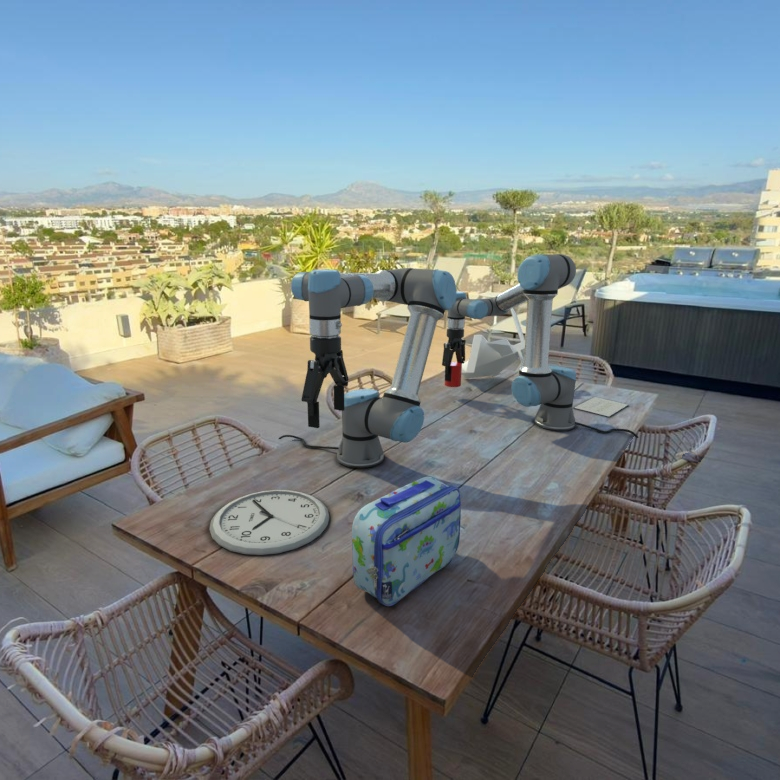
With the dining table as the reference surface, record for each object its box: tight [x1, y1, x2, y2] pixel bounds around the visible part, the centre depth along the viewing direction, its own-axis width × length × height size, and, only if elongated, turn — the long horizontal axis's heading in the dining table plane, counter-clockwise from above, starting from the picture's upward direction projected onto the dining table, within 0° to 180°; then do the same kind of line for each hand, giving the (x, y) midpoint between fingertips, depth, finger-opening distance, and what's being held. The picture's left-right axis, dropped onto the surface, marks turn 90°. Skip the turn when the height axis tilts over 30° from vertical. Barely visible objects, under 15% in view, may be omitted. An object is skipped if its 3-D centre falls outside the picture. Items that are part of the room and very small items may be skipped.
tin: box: [444, 361, 462, 388], centre depth 232 cm, size 7×7×10 cm
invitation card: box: [573, 396, 629, 418], centre depth 226 cm, size 21×1×15 cm
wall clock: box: [209, 489, 330, 556], centre depth 135 cm, size 30×2×30 cm
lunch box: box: [351, 476, 462, 607], centre depth 111 cm, size 26×11×21 cm, turn 135°
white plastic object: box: [461, 308, 525, 379], centre depth 256 cm, size 37×45×31 cm
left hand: (327, 418), depth 132 cm, fingers open, 13 cm apart
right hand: (452, 378), depth 233 cm, fingers closed on tin, 7 cm apart
